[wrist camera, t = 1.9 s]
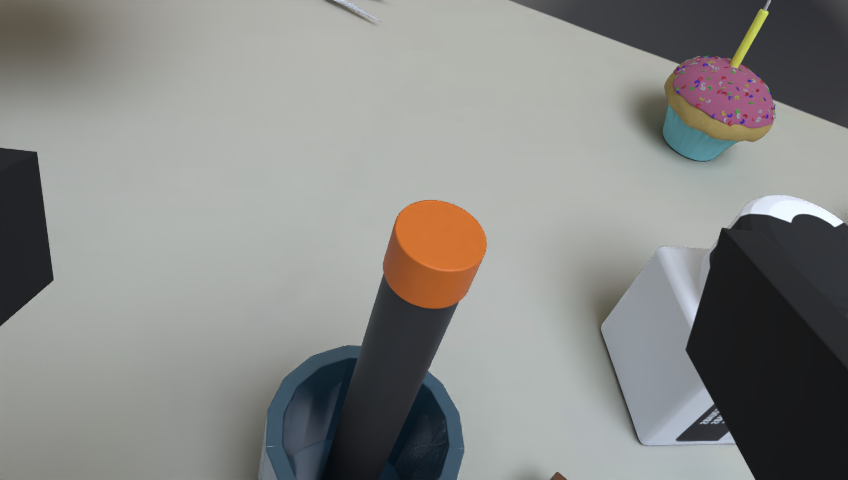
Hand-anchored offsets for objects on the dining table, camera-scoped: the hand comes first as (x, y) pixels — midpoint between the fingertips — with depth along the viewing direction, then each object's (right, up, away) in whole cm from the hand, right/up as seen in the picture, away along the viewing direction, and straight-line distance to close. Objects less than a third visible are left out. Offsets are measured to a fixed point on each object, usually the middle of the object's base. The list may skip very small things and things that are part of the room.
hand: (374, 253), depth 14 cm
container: (+16, -8, +27) cm, 32 cm away
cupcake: (+23, +8, +44) cm, 50 cm away
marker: (-3, -11, +17) cm, 20 cm away
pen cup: (-3, -12, +17) cm, 21 cm away
